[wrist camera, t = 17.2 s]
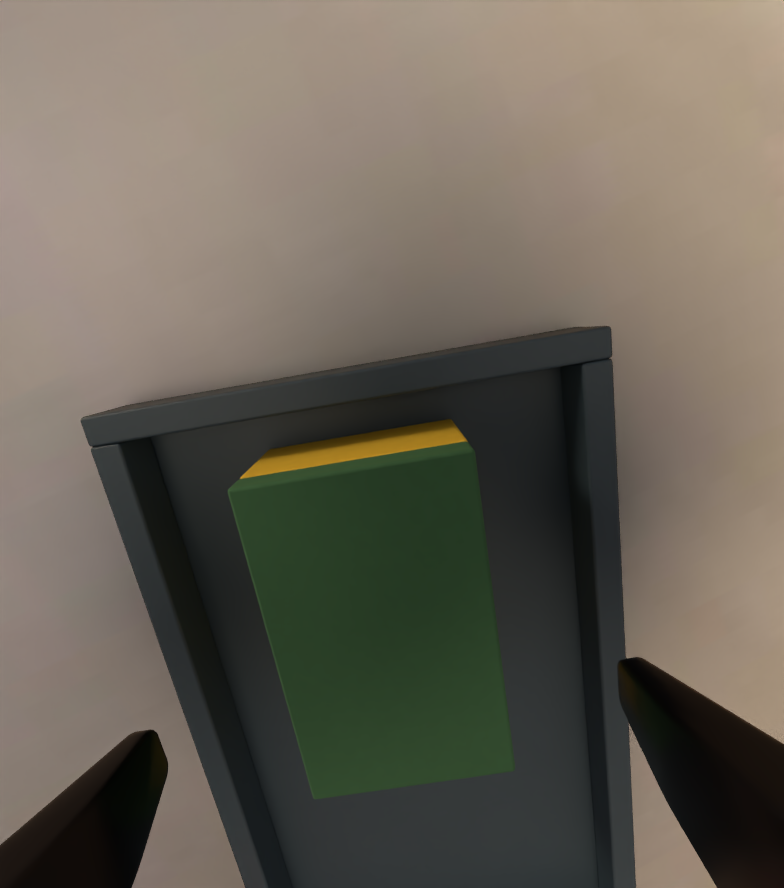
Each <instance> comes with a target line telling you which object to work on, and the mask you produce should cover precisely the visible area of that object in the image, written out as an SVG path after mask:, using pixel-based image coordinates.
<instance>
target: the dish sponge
mask: <svg viewBox="0 0 784 888" xmlns="http://www.w3.org/2000/svg"><path fill="white" fill-rule="evenodd" d="M228 496H229V499H230V503H231V506H232V510H233V513H234V517H235V521H236V524H237V528H238V531H239V535H240V538H241V542H242V546H243V549H244V553H245V556H246V560H247V563H248V567H249V571H250V574H251V578H252V581H253V585H254V588H255V592H256V596H257V599H258V603H259V606H260V610H261V613H262V617H263V621H264V624H265V628H266V631H267V635H268V638H269V642H270V646H271V649H272V653H273V656H274V660H275V663H276V667H277V671H278V674H279V678H280V681H281V685H282V688H283V692H284V696H285V699H286V703H287V706H288V710H289V713H290V717H291V721H292V724H293V728H294V731H295V735H296V738H297V742H298V746H299V749H300V753H301V756H302V760H303V763H304V767H305V771H306V774H307V778H308V781H309V785H310V788H311V792H312V796H313V798H314V799H323V798H330V797H337V796H344V795H351V794H358V793H365V792H372V791H379V790H386V789H393V788H400V787H407V786H414V785H421V784H429V783H436V782H443V781H450V780H457V779H464V778H471V777H478V776H485V775H492V774H499V773H506V772H513V771H514V770H515V761H514V753H513V746H512V738H511V730H510V722H509V714H508V706H507V698H506V691H505V683H504V675H503V667H502V659H501V651H500V644H499V636H498V628H497V620H496V612H495V604H494V597H493V589H492V581H491V573H490V565H489V557H488V550H487V542H486V534H485V526H484V518H483V510H482V503H481V495H480V487H479V479H478V471H477V463H476V456H475V451H474V449H473V448H472V446H471V445H470V444H469V442H468V441H467V440H466V438H465V437H464V436H463V434H462V433H461V432H460V430H459V429H458V428H457V426H456V425H455V424H454V422H453V421H452V420H451V419H447V420H441V421H435V422H429V423H423V424H417V425H411V426H405V427H399V428H393V429H387V430H381V431H375V432H370V433H364V434H358V435H352V436H346V437H340V438H334V439H328V440H322V441H316V442H310V443H304V444H298V445H292V446H287V447H281V448H275V449H270V450H268V451H267V452H266V453H265V454H264V455H263V456H262V457H261V458H260V459H259V460H258V461H257V462H256V463H255V464H254V465H253V466H252V467H251V468H250V469H249V470H248V471H247V472H246V473H245V474H244V475H242V476H241V477H240V479H239V480H238V481H236V482H235V483H234V484H233V485H232V486H231V487H230V488H229V489H228Z"/></svg>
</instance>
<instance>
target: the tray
mask: <svg viewBox="0 0 784 888" xmlns="http://www.w3.org/2000/svg"><path fill="white" fill-rule="evenodd" d="M610 357H612V339H611V328H610V327H609V326H595V327H573V328H567V329H562V330H556V331H550V332H544V333H539V334H533V335H527V336H521V337H516V338H510V339H504V340H498V341H493V342H487V343H481V344H476V345H470V346H464V347H458V348H453V349H447V350H441V351H435V352H430V353H424V354H418V355H412V356H407V357H401V358H395V359H389V360H384V361H378V362H372V363H366V364H361V365H355V366H349V367H343V368H338V369H332V370H326V371H320V372H315V373H309V374H303V375H297V376H292V377H286V378H280V379H274V380H269V381H263V382H257V383H252V384H246V385H240V386H234V387H229V388H223V389H217V390H211V391H206V392H200V393H194V394H188V395H183V396H177V397H171V398H165V399H160V400H154V401H148V402H142V403H137V404H131V405H126V406H122V407H118V408H115V409H111V410H108V411H104V412H100V413H97V414H93V415H89V416H85V417H83V418H82V419H81V423H82V426H83V429H84V432H85V435H86V438H87V440H88V443H89V445H90V446H93V448H91V452H92V455H93V458H94V461H95V463H96V466H97V469H98V472H99V475H100V478H101V480H102V483H103V486H104V489H105V492H106V494H107V497H108V500H109V503H110V506H111V509H112V511H113V514H114V517H115V520H116V523H117V526H118V528H119V531H120V534H121V537H122V540H123V543H124V545H125V548H126V551H127V554H128V557H129V560H130V562H131V565H132V568H133V571H134V574H135V576H136V579H137V582H138V585H139V588H140V591H141V593H142V596H143V599H144V602H145V605H146V608H147V610H148V613H149V616H150V619H151V622H152V625H153V627H154V630H155V633H156V636H157V639H158V642H159V644H160V647H161V650H162V653H163V656H164V658H165V661H166V664H167V667H168V670H169V673H170V675H171V678H172V681H173V684H174V687H175V690H176V692H177V695H178V698H179V701H180V704H181V707H182V709H183V712H184V715H185V718H186V721H187V723H188V726H189V729H190V732H191V735H192V738H193V740H194V743H195V746H196V749H197V752H198V755H199V757H200V760H201V763H202V766H203V769H204V772H205V774H206V777H207V780H208V783H209V786H210V789H211V791H212V794H213V797H214V800H215V803H216V805H217V808H218V811H219V814H220V817H221V820H222V822H223V825H224V828H225V831H226V834H227V837H228V839H229V842H230V845H231V848H232V851H233V854H234V856H235V859H236V862H237V865H238V868H239V871H240V873H241V876H242V879H243V882H244V885H245V887H246V888H636V879H635V857H634V835H633V812H632V790H631V767H630V745H629V723H628V720H627V718H626V715H625V713H624V711H623V709H622V706H621V704H620V700H619V694H618V675H617V664H618V662H619V661H620V660H622V659H626V656H625V633H624V611H623V589H622V566H621V544H620V521H619V499H618V477H617V454H616V432H615V410H614V387H613V365H612V360H611V359H609V358H610ZM447 419H451V420H452V421H453V422H454V424H455V425H456V426H457V428H458V429H459V430H460V432H461V433H462V434H463V436H464V437H465V438H466V440H467V441H468V442H469V444H470V445H471V446H472V448H473V449H474V451H475V456H476V463H477V471H478V479H479V487H480V495H481V503H482V510H483V518H484V526H485V534H486V542H487V550H488V557H489V565H490V573H491V581H492V589H493V597H494V604H495V612H496V620H497V628H498V636H499V644H500V651H501V659H502V667H503V675H504V683H505V691H506V698H507V706H508V714H509V722H510V730H511V738H512V746H513V753H514V761H515V770H514V771H513V772H506V773H499V774H492V775H485V776H478V777H471V778H464V779H457V780H450V781H443V782H436V783H429V784H421V785H414V786H407V787H400V788H393V789H386V790H379V791H372V792H365V793H358V794H351V795H344V796H337V797H330V798H323V799H314V798H313V796H312V792H311V788H310V785H309V781H308V778H307V774H306V771H305V767H304V763H303V760H302V756H301V753H300V749H299V746H298V742H297V738H296V735H295V731H294V728H293V724H292V721H291V717H290V713H289V710H288V706H287V703H286V699H285V696H284V692H283V688H282V685H281V681H280V678H279V674H278V671H277V667H276V663H275V660H274V656H273V653H272V649H271V646H270V642H269V638H268V635H267V631H266V628H265V624H264V621H263V617H262V613H261V610H260V606H259V603H258V599H257V596H256V592H255V588H254V585H253V581H252V578H251V574H250V571H249V567H248V563H247V560H246V556H245V553H244V549H243V546H242V542H241V538H240V535H239V531H238V528H237V524H236V521H235V517H234V513H233V510H232V506H231V503H230V499H229V496H228V489H229V488H230V487H231V486H232V485H233V484H234V483H235V482H236V481H238V480H239V479H240V477H241V476H242V475H244V474H245V473H246V472H247V471H248V470H249V469H250V468H251V467H252V466H253V465H254V464H255V463H256V462H257V461H258V460H259V459H260V458H261V457H262V456H263V455H264V454H265V453H266V452H267V451H268V450H270V449H275V448H281V447H287V446H292V445H298V444H304V443H310V442H316V441H322V440H328V439H334V438H340V437H346V436H352V435H358V434H364V433H370V432H375V431H381V430H387V429H393V428H399V427H405V426H411V425H417V424H423V423H429V422H435V421H441V420H447Z"/></svg>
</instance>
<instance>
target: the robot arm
mask: <svg viewBox="0 0 784 888" xmlns="http://www.w3.org/2000/svg"><path fill="white" fill-rule="evenodd" d="M617 675H618V694H619V700H620V704H621V706H622V709H623V711H624V713H625V715H626V718H627V720H628V722H629V724H630V726H631V728H632V730H633V732H634V734H635V736H636V738H637V741H638V743H639V745H640V747H641V749H642V751H643V753H644V755H645V757H646V759H647V761H648V764H649V766H650V768H651V770H652V772H653V774H654V776H655V778H656V780H657V782H658V785H659V787H660V789H661V791H662V793H663V795H664V797H665V799H666V801H667V802H668V804H669V806H670V808H671V810H672V811H673V813H674V815H675V817H676V818H677V820H678V822H679V824H680V825H681V827H682V829H683V830H684V832H685V834H686V835H687V837H688V839H689V841H690V842H691V844H692V846H693V847H694V849H695V851H696V852H697V854H698V856H699V857H700V859H701V861H702V863H703V864H704V866H705V868H706V869H707V871H708V873H709V874H710V876H711V878H712V880H713V881H714V883H715V885H716V886H717V888H784V744H783V743H781V742H779V741H778V740H776V739H774V738H773V737H771V736H769V735H768V734H766V733H764V732H763V731H761V730H760V729H758V728H756V727H755V726H753V725H751V724H750V723H748V722H746V721H745V720H743V719H742V718H740V717H738V716H737V715H735V714H733V713H732V712H730V711H728V710H727V709H725V708H723V707H722V706H720V705H719V704H717V703H715V702H714V701H712V700H710V699H709V698H707V697H705V696H704V695H702V694H700V693H699V692H697V691H696V690H694V689H692V688H691V687H689V686H687V685H686V684H684V683H682V682H681V681H679V680H678V679H676V678H674V677H673V676H671V675H669V674H668V673H666V672H664V671H663V670H661V669H659V668H658V667H656V666H655V665H653V664H651V663H650V662H648V661H646V660H645V659H643V658H640V657H635V658H628V659H622V660H620V661H619V662H618V664H617ZM167 773H168V761H167V758H166V755H165V753H164V750H163V747H162V745H161V742H160V739H159V737H158V734H157V733H156V732H155V731H154V730H145V731H138V732H134V733H132V734H130V735H129V736H127V737H126V738H125V739H124V740H123V741H121V742H120V743H119V744H118V745H117V746H116V747H114V748H113V749H112V750H111V751H110V752H109V753H107V754H106V755H105V756H104V757H103V758H102V759H100V760H99V761H98V762H97V763H96V764H95V765H93V766H92V767H91V768H90V769H89V770H88V771H86V772H85V773H84V774H83V775H82V776H81V777H79V778H78V779H77V780H76V781H75V782H74V783H72V784H71V785H70V786H69V787H68V788H67V789H65V790H64V791H63V792H62V793H61V794H60V795H58V796H57V797H56V798H55V799H54V800H53V801H51V802H50V803H49V804H48V805H47V806H46V807H44V808H43V809H42V810H41V811H40V812H38V813H37V814H36V815H35V816H34V817H33V818H31V819H30V820H29V821H28V822H27V823H26V824H24V825H23V826H22V827H21V828H20V829H19V830H17V831H16V832H15V833H14V834H13V835H12V836H10V837H9V838H8V839H7V840H6V841H5V842H3V843H2V844H1V845H0V888H132V885H133V882H134V880H135V877H136V874H137V871H138V868H139V865H140V862H141V859H142V856H143V853H144V850H145V846H146V843H147V840H148V837H149V833H150V830H151V827H152V823H153V820H154V817H155V814H156V810H157V807H158V804H159V801H160V797H161V794H162V791H163V788H164V784H165V781H166V778H167Z"/></svg>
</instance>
